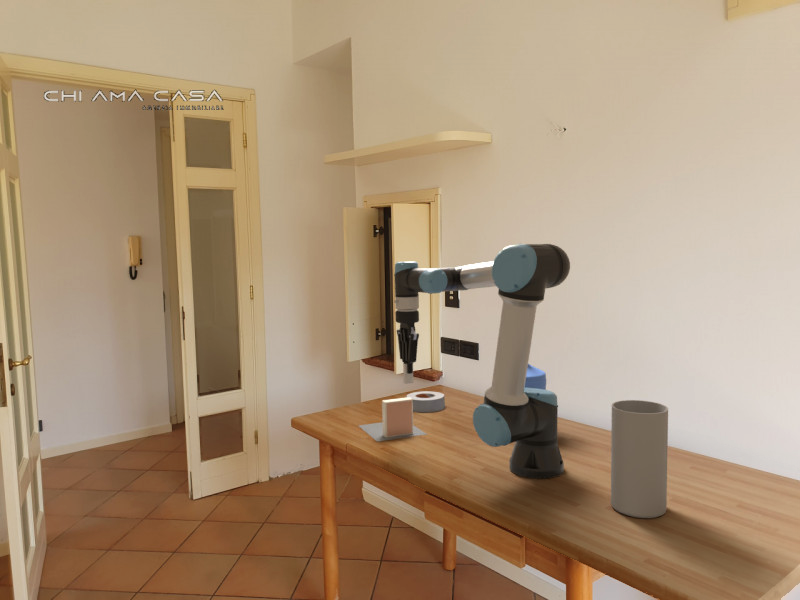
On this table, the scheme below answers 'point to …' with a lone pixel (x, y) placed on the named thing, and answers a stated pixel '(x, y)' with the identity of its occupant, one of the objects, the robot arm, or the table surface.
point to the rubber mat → (377, 432)
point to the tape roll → (427, 401)
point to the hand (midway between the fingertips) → (408, 382)
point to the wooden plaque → (397, 417)
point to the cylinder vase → (639, 458)
